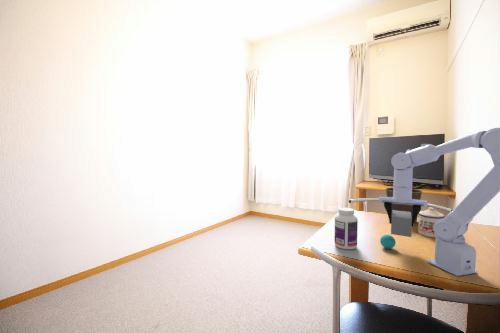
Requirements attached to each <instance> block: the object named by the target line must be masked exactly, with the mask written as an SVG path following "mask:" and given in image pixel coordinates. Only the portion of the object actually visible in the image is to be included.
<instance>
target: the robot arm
mask: <svg viewBox="0 0 500 333" xmlns="http://www.w3.org/2000/svg"><path fill="white" fill-rule="evenodd" d="M469 148H475V149H483V150H485V151H486V152H487V153H488V154H489V155H490V157H491V160H492V163H493V167H492V168H491V169H490V170H489V171H488V173H486V174H485V176H484V177H483V178H482V179H481V180H480V181H479V182H478V183H477V184H476V186H474V187H473V188H472V190H471V191H470V192H469V193H468V194H467V195H466V196H465V197H464V199H462V200H461V202H460V203H459V204H457V206H456V207H455V208H454V209H453V210H451V211H450V212H449V213H448V214H447V215H446V217H445V218H444V219H441V220H438V221H436V222H435V223H434V226H433V230H434V233H435V234H436V238H435V239H434V240H435V241H434V243H435V245H434V259H430V260H427V263H429V264H431V265H432V266H435V267H437V268H439V269H440V270H444V271H446V272H447V273H450V274H452V275H455V276H458V277H459V276H466V275H470V274H476V273H477V272H478V271H477V270H476V261H477V251H476V248H475V247H474V246H472V245H470V244H468V243H467V242H466V238H465V236H464V234H466V233H467V231H468V230H469V225H470V223H472V221H473V220H474V218H475V217H476V216H477V215H479V213H480V212H481V211H483V209H484V208H485V207H486V206H487V204H489V203H490V202H491V201H492V200H493V199H494V198H495V197H496V196H497V195H498V194H499V193H500V127H493V128H489V129H488V130H481V131H477V132H473V133H470V134H467V135H464V136H463V135H462V136H461V137H458V138H455V139H452V140H449V141H447V142H444V143H442V144H438V145H433V144H431V143H422V144H420V147H417V148H413V149H409V148H408V149H406V152H397V153H395V154H394V155H393V156H392V157H391V160H390V161H391V162H390V163H391V166H392V167H393V182H392V183H393V185H392V188H393V197H387V196H379V197H378V203H380V204H383V207H384V209H385V211H386V214H387V217H388V220H389V223H388V224H390V225H391V219H392V204H402V205H412V228H413V227H414V226H415V223H414V222H415V219H416V217H417V218H418V216H419V214H418V213H419V212H420V211H422V207H423V208H428V200H424V199H423V200H422V199H420V200H417V199H412V189H413V178H414V177H413V175H414V172H413V171H414V170H413V169H414V168H415V167H419V166H422V165H425V164H430V163H432V162H437V161H438V160H439V158H440V156H442V155H446V154H450V153H455V152H457V151H461V150H465V149H469Z"/></svg>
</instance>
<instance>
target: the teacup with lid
mask: <svg viewBox="0 0 500 333" xmlns="http://www.w3.org/2000/svg"><path fill="white" fill-rule="evenodd" d="M444 215H445V214H444V213H442V212H439V211H438V210H435V208H434V207H431V206H430V207H428V209H425V210H420V212H419V213H418V229H417V230H418V234H419V235H422V236H424V237H428V238H435V239H436V234H435V233H434V230H433V226H434V223H435V222H436V221H438V220H441V219H444V217H445V216H444Z"/></svg>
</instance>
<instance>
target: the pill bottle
mask: <svg viewBox="0 0 500 333" xmlns="http://www.w3.org/2000/svg"><path fill="white" fill-rule="evenodd" d="M337 212H338V213H337V214H336V215H335V216H334V245H335V246H336V247H337V248H339V249H341V250H355V249H356V248H357V247H358V222H359V221H358V217H357V216H356V215H355V209H354V208H350V207H338V210H337Z"/></svg>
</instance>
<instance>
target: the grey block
mask: <svg viewBox="0 0 500 333" xmlns="http://www.w3.org/2000/svg"><path fill="white" fill-rule="evenodd" d="M390 225H391V226H390V235H394V236H400V237H401V236H402V237H409V238H412V228H413V227H412V216H411V212H406V211H396V210H392V219H391V224H390Z"/></svg>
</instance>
